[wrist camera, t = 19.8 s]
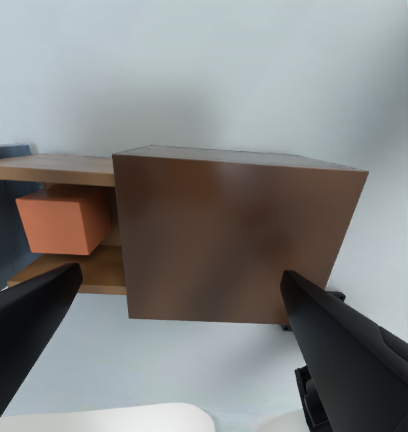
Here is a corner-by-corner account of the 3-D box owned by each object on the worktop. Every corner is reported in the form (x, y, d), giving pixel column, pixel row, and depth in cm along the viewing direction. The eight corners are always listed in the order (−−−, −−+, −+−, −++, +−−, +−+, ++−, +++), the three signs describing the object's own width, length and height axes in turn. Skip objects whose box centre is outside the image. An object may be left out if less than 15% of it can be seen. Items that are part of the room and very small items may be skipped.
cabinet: (154, 253, 22) (128, 318, 14) (150, 145, 18) (111, 153, 10) (273, 259, 23) (310, 325, 15) (298, 155, 18) (369, 171, 10)
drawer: (-4, 245, 20) (-92, 293, 14) (-44, 139, 17) (-190, 143, 10) (163, 254, 21) (147, 303, 15) (162, 153, 17) (140, 165, 11)
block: (112, 230, 19) (88, 255, 15) (66, 228, 19) (31, 252, 15) (106, 187, 17) (79, 202, 13) (56, 184, 17) (14, 198, 13)
